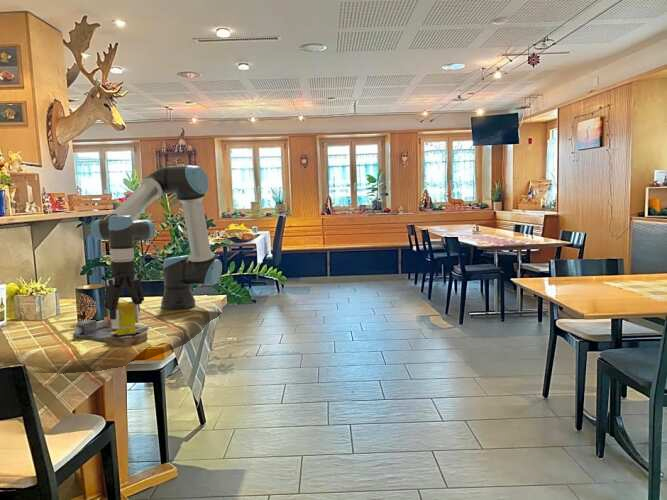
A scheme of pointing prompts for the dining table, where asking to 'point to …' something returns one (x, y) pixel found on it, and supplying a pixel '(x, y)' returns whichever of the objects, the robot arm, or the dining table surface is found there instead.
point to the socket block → (99, 330)
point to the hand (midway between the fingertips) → (125, 325)
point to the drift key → (102, 323)
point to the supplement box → (126, 319)
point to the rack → (126, 339)
